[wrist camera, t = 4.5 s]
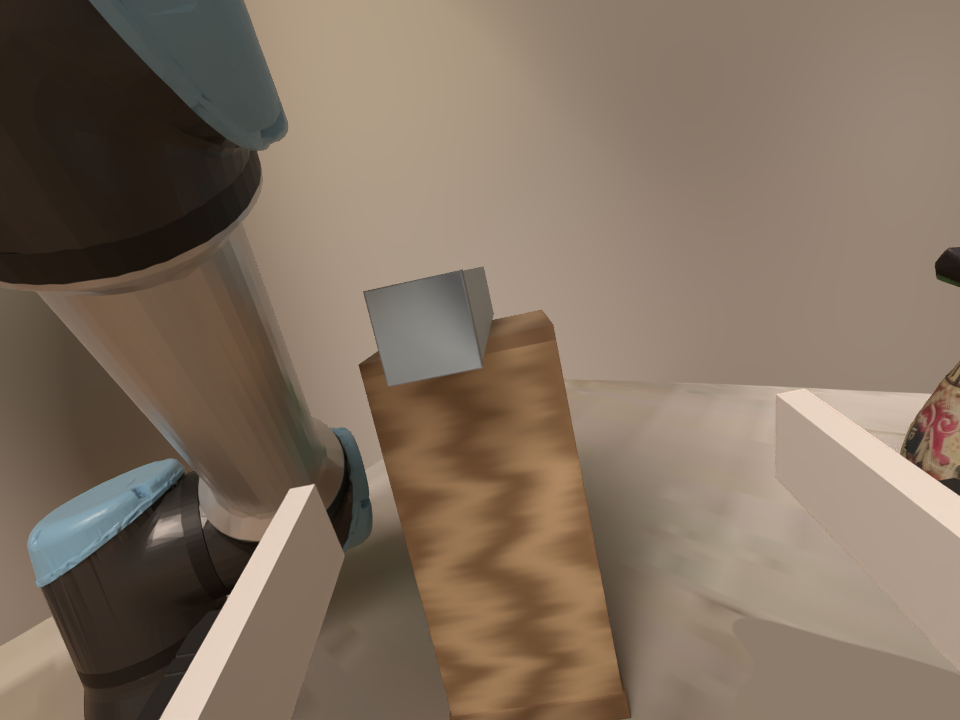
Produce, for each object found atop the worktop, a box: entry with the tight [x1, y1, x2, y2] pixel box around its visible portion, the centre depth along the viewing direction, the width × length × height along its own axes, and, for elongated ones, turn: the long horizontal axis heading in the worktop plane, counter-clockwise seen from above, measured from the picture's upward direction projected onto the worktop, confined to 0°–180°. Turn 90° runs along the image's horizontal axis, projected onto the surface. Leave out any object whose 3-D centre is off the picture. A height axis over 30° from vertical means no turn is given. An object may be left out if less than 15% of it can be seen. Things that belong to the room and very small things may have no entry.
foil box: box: [364, 267, 493, 387], centre depth 35 cm, size 5×24×5 cm, turn 177°
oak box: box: [359, 310, 631, 720], centre depth 40 cm, size 13×10×30 cm
